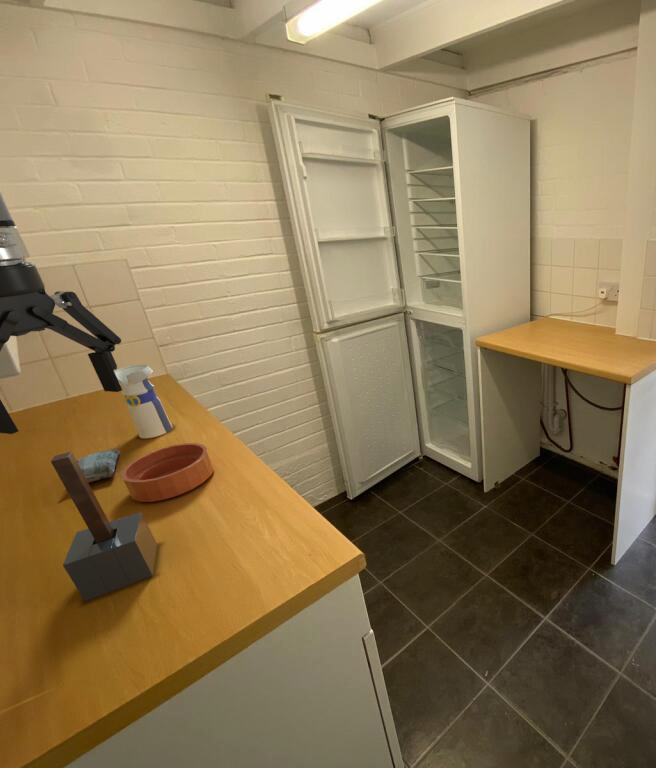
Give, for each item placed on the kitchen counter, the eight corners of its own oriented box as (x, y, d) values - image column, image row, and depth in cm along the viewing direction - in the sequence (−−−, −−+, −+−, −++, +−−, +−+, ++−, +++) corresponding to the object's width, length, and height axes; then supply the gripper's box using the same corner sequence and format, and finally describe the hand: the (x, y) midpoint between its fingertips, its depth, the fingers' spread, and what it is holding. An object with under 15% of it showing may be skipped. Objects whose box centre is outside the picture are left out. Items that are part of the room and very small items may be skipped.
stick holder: (85, 601, 68) (62, 565, 65) (96, 566, 75) (76, 532, 72) (153, 575, 72) (134, 540, 69) (157, 544, 79) (141, 511, 76)
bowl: (127, 514, 87) (115, 491, 85) (136, 478, 99) (126, 457, 97) (215, 487, 95) (206, 465, 93) (214, 456, 107) (206, 436, 105)
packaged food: (68, 494, 94) (58, 476, 92) (79, 470, 103) (70, 453, 101) (119, 480, 99) (110, 463, 97) (125, 458, 108) (117, 442, 106)
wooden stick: (115, 577, 72) (50, 461, 63) (117, 570, 74) (54, 455, 64) (130, 572, 73) (68, 457, 64) (132, 564, 75) (71, 451, 65)
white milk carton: (163, 437, 117) (128, 353, 107) (130, 440, 116) (91, 356, 106) (181, 423, 125) (149, 343, 115) (149, 426, 124) (115, 345, 114)
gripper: (-144, 280, 42) (-29, 457, 51) (115, 252, 65) (164, 378, 73) (-193, 280, 44) (-73, 452, 52) (77, 252, 66) (130, 376, 75)
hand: (66, 409), depth 63 cm, fingers open, 13 cm apart
